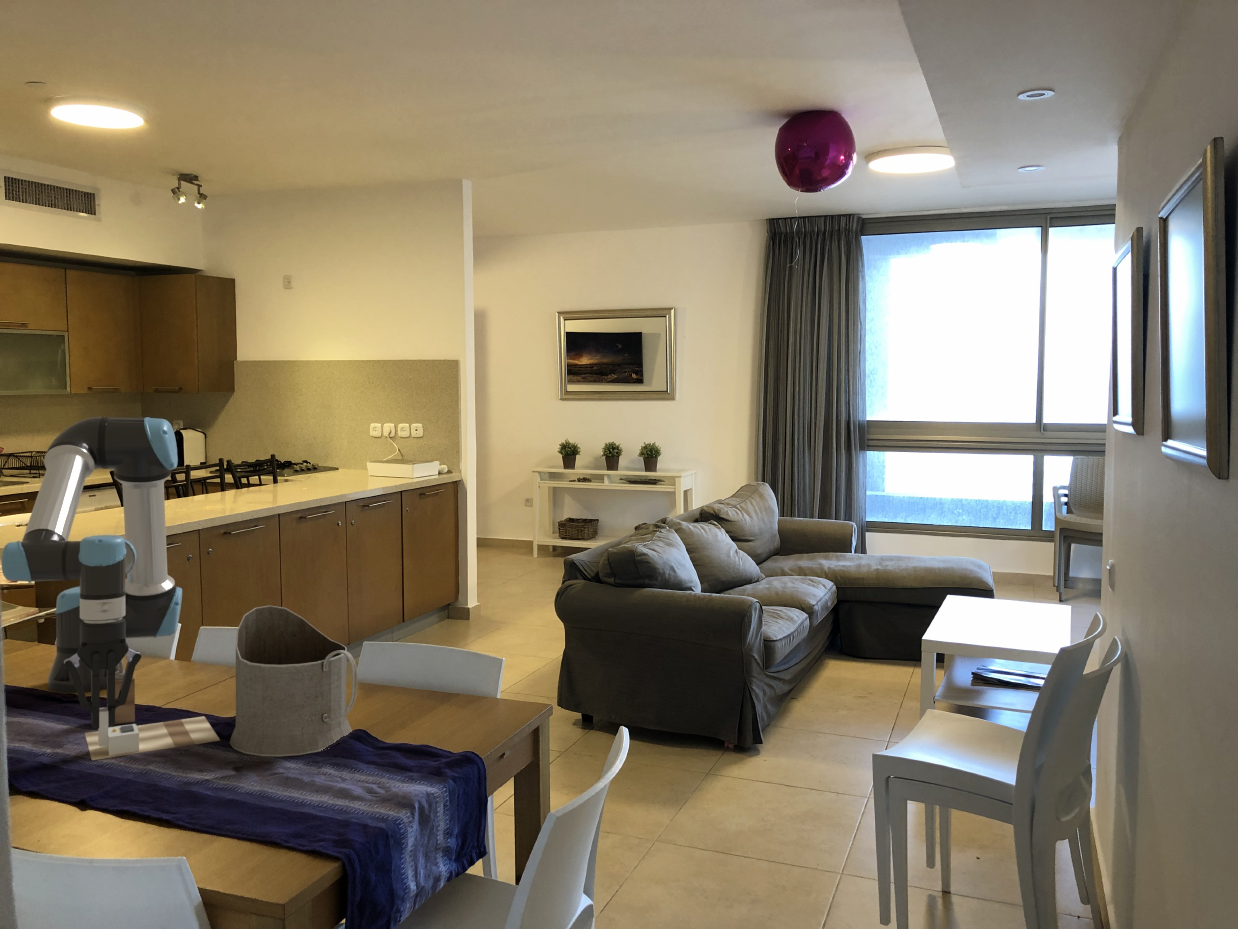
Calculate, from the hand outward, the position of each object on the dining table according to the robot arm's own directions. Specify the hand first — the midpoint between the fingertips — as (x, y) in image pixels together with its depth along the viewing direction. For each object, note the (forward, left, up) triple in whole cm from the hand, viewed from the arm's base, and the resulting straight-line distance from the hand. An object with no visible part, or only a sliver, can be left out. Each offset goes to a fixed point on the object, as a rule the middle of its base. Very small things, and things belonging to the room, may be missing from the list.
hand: (103, 743), depth 180 cm
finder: (0, +3, -1) cm, 3 cm away
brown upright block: (-19, +5, -3) cm, 19 cm away
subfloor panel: (-5, +9, -3) cm, 10 cm away
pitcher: (+8, +35, -3) cm, 36 cm away
